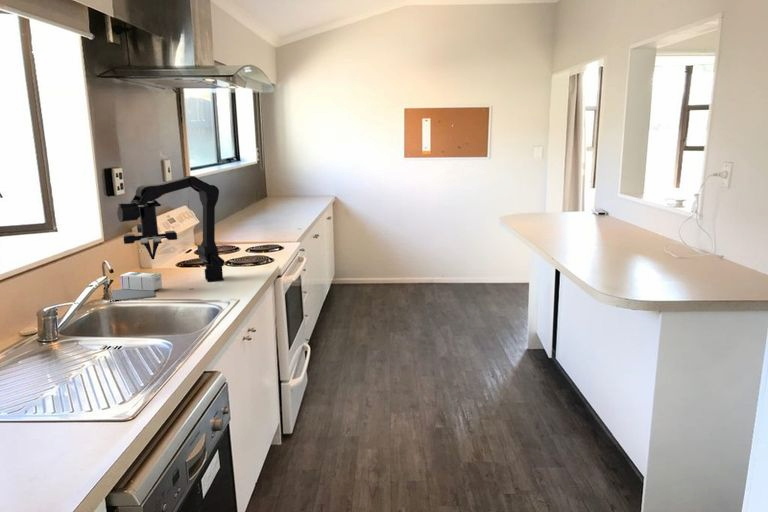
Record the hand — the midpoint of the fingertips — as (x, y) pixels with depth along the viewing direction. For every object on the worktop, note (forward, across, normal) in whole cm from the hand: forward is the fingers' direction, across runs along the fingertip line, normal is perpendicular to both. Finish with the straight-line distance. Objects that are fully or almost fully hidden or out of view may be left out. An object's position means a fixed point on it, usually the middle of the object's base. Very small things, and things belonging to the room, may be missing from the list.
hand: (152, 259), depth 214 cm
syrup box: (+9, -1, +1) cm, 9 cm away
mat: (+12, +9, +2) cm, 15 cm away
